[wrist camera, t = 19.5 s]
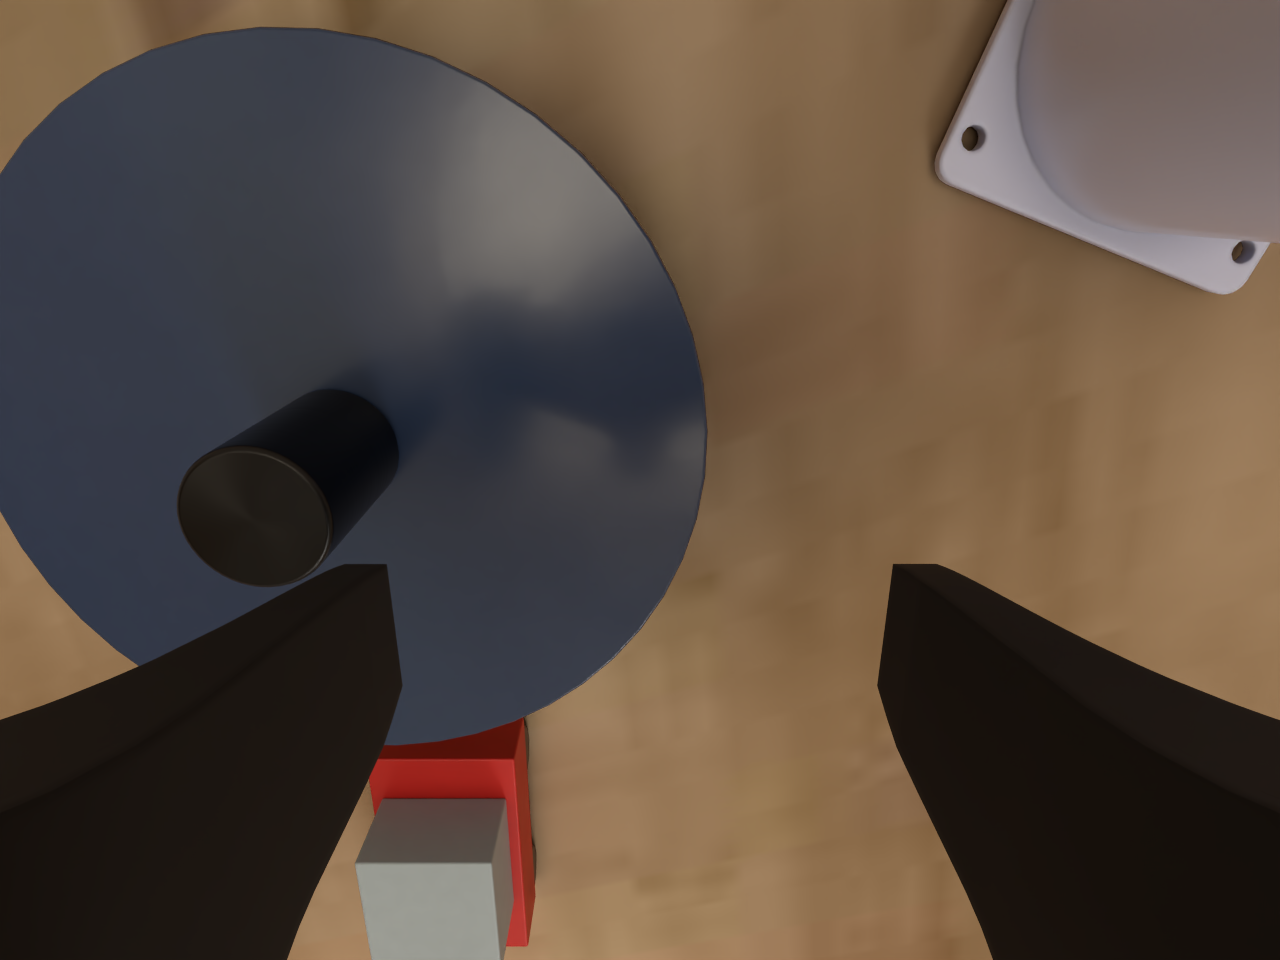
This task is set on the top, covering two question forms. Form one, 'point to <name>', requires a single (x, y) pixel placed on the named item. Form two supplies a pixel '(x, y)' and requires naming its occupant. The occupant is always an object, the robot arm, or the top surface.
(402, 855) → the toy car
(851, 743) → the top surface
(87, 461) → the lid
